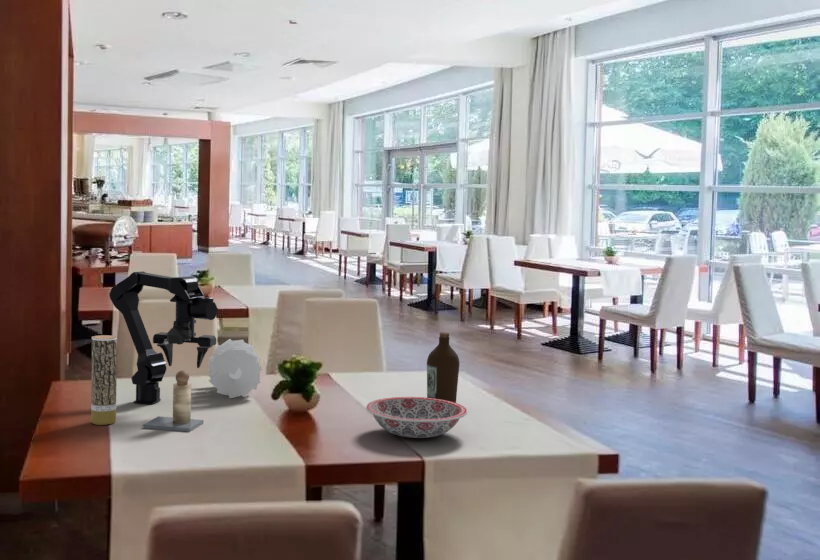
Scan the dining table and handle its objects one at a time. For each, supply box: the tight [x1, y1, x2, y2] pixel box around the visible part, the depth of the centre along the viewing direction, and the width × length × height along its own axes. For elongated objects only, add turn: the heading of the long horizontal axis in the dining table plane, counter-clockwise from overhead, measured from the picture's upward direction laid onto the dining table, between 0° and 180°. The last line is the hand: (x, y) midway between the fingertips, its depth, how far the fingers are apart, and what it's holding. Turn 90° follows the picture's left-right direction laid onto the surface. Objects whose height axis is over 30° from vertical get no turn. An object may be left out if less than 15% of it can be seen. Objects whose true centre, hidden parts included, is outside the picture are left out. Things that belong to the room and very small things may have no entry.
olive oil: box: [426, 331, 460, 403], centre depth 290 cm, size 11×11×25 cm
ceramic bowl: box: [365, 396, 468, 439], centre depth 257 cm, size 29×29×8 cm
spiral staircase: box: [207, 338, 263, 399], centre depth 302 cm, size 18×18×25 cm
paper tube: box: [90, 334, 118, 426], centre depth 256 cm, size 7×7×25 cm
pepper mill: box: [172, 370, 192, 424], centre depth 257 cm, size 5×5×15 cm
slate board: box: [142, 415, 204, 433], centre depth 257 cm, size 14×10×1 cm
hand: (184, 366), depth 277 cm, fingers open, 9 cm apart
